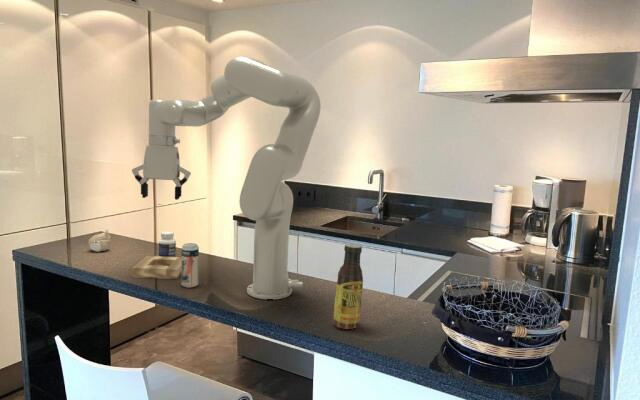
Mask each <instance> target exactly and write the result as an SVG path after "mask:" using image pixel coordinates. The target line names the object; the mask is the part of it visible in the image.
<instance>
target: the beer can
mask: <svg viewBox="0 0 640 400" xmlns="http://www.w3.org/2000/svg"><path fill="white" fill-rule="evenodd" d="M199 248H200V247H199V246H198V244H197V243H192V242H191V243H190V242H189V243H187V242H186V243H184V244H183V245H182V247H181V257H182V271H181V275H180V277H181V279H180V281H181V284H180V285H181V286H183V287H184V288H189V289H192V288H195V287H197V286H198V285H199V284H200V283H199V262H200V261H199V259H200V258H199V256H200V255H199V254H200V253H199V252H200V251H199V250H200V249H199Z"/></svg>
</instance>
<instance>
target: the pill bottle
mask: <svg viewBox="0 0 640 400" xmlns="http://www.w3.org/2000/svg"><path fill="white" fill-rule="evenodd" d="M174 235H175V233H174V232H172V231H162V232H160V237H161V238H160V239H159V240H158V256H161V257H177V256H176V249H177V247H176V246H177V245H176V244H177V243H176V239H175V238H174V237H175V236H174Z"/></svg>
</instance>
